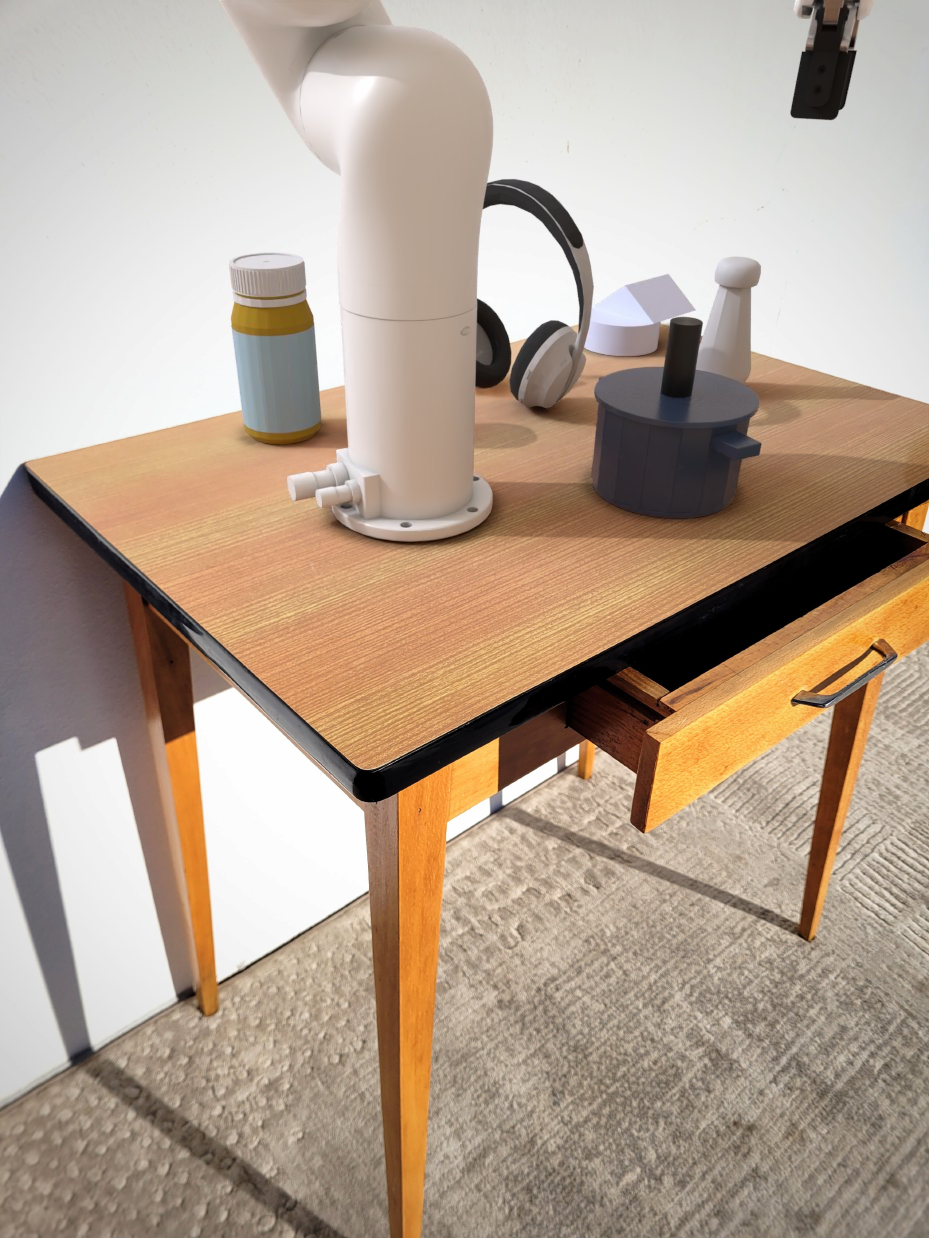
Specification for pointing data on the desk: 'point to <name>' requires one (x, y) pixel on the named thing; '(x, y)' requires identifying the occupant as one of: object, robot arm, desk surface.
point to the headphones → (553, 346)
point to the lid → (677, 388)
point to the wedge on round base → (635, 317)
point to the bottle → (275, 348)
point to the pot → (668, 466)
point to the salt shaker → (730, 320)
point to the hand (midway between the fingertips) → (818, 113)
